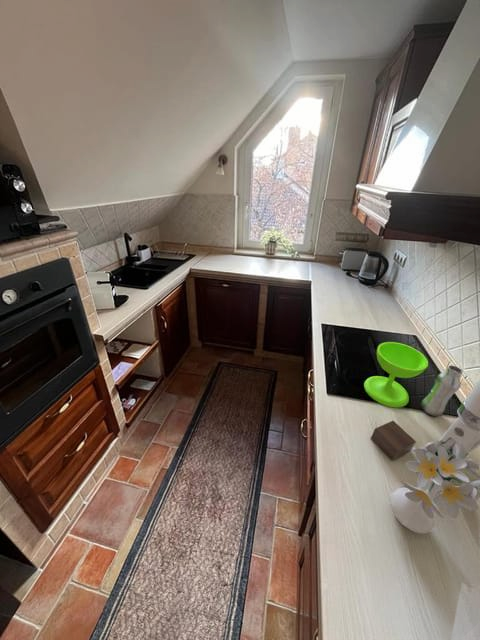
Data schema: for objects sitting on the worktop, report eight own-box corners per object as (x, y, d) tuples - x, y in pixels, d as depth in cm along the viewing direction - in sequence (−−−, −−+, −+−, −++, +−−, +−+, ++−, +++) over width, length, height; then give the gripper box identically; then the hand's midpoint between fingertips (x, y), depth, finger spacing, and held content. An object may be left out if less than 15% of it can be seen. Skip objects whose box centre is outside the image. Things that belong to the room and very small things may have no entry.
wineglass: (385, 373, 108) (400, 339, 99) (419, 401, 95) (439, 365, 86) (355, 381, 104) (367, 346, 95) (385, 412, 91) (403, 374, 82)
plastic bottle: (419, 400, 96) (442, 359, 85) (441, 409, 92) (468, 368, 82) (418, 412, 91) (442, 370, 81) (440, 421, 88) (469, 379, 78)
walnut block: (388, 430, 85) (393, 420, 82) (410, 451, 78) (416, 441, 76) (370, 438, 82) (375, 428, 79) (391, 461, 75) (397, 451, 73)
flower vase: (366, 527, 61) (403, 470, 48) (393, 473, 72) (428, 415, 60) (428, 581, 53) (492, 531, 40) (447, 511, 64) (502, 454, 52)
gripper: (475, 440, 55) (438, 484, 65) (517, 416, 61) (478, 459, 70) (440, 414, 61) (411, 457, 70) (482, 394, 67) (450, 437, 76)
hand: (445, 458), depth 70 cm, fingers closed on green block, 5 cm apart
